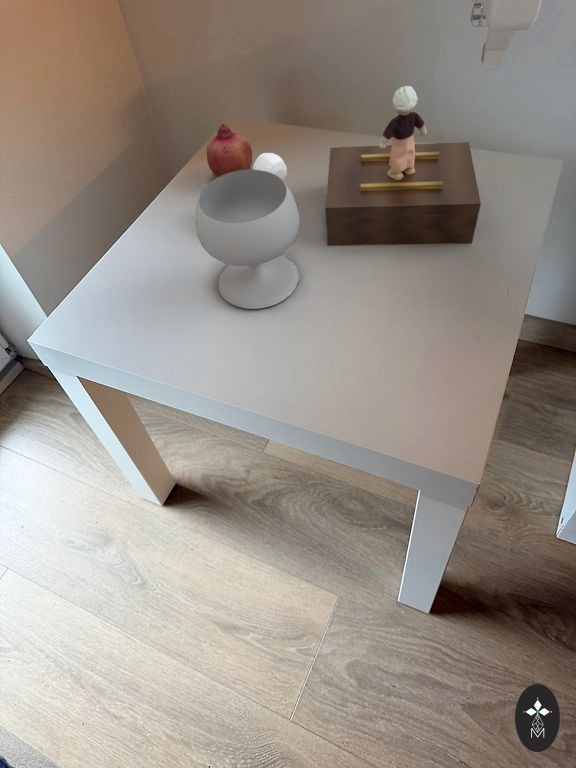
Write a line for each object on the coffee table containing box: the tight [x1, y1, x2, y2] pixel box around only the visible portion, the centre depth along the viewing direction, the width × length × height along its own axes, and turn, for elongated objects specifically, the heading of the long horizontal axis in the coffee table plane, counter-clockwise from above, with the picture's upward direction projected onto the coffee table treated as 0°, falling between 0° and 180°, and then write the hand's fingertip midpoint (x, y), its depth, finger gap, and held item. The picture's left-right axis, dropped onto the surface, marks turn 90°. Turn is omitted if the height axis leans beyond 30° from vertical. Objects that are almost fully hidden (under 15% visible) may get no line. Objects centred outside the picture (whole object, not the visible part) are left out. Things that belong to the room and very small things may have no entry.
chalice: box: [194, 169, 300, 310], centre depth 75 cm, size 14×14×15 cm
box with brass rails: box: [325, 141, 482, 246], centre depth 85 cm, size 22×16×8 cm
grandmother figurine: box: [378, 85, 428, 180], centre depth 77 cm, size 8×4×13 cm, turn 126°
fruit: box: [206, 123, 253, 178], centre depth 94 cm, size 8×8×10 cm
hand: (484, 44), depth 53 cm, fingers open, 8 cm apart
